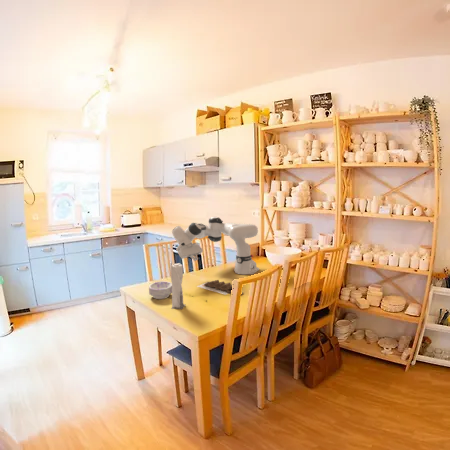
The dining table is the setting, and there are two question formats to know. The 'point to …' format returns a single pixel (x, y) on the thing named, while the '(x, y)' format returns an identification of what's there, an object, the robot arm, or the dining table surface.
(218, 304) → the dining table surface
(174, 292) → the skyscraper
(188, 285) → the dining table surface
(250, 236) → the robot arm
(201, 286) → the board
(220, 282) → the domino
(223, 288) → the domino
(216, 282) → the domino
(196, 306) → the dining table surface
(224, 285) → the domino
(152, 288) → the paper bowls
